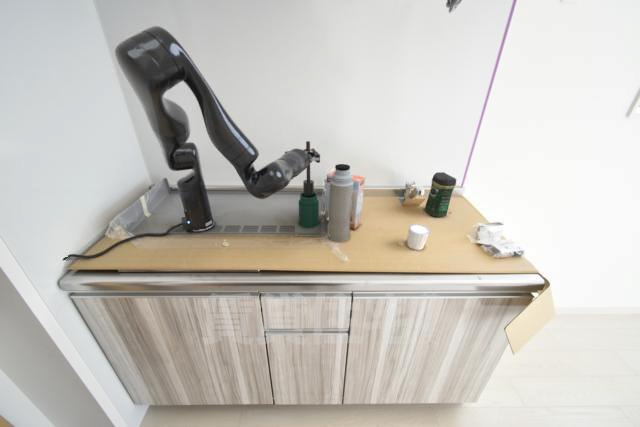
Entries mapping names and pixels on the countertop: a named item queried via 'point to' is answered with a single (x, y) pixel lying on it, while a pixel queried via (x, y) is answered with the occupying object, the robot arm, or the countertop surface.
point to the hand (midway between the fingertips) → (310, 150)
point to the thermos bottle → (340, 203)
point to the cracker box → (356, 199)
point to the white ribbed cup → (417, 236)
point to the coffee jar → (440, 194)
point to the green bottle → (308, 210)
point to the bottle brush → (308, 177)
